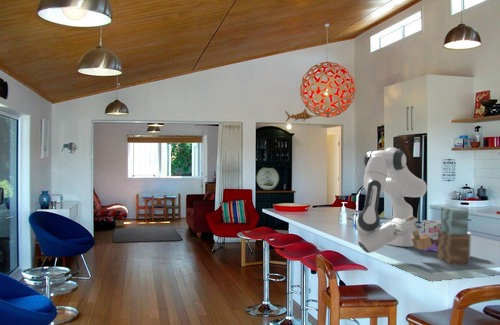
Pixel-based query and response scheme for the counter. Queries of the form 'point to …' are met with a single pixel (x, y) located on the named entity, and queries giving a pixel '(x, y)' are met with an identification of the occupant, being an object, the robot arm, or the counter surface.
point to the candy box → (431, 233)
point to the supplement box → (469, 242)
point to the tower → (453, 236)
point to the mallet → (420, 238)
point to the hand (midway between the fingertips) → (414, 218)
